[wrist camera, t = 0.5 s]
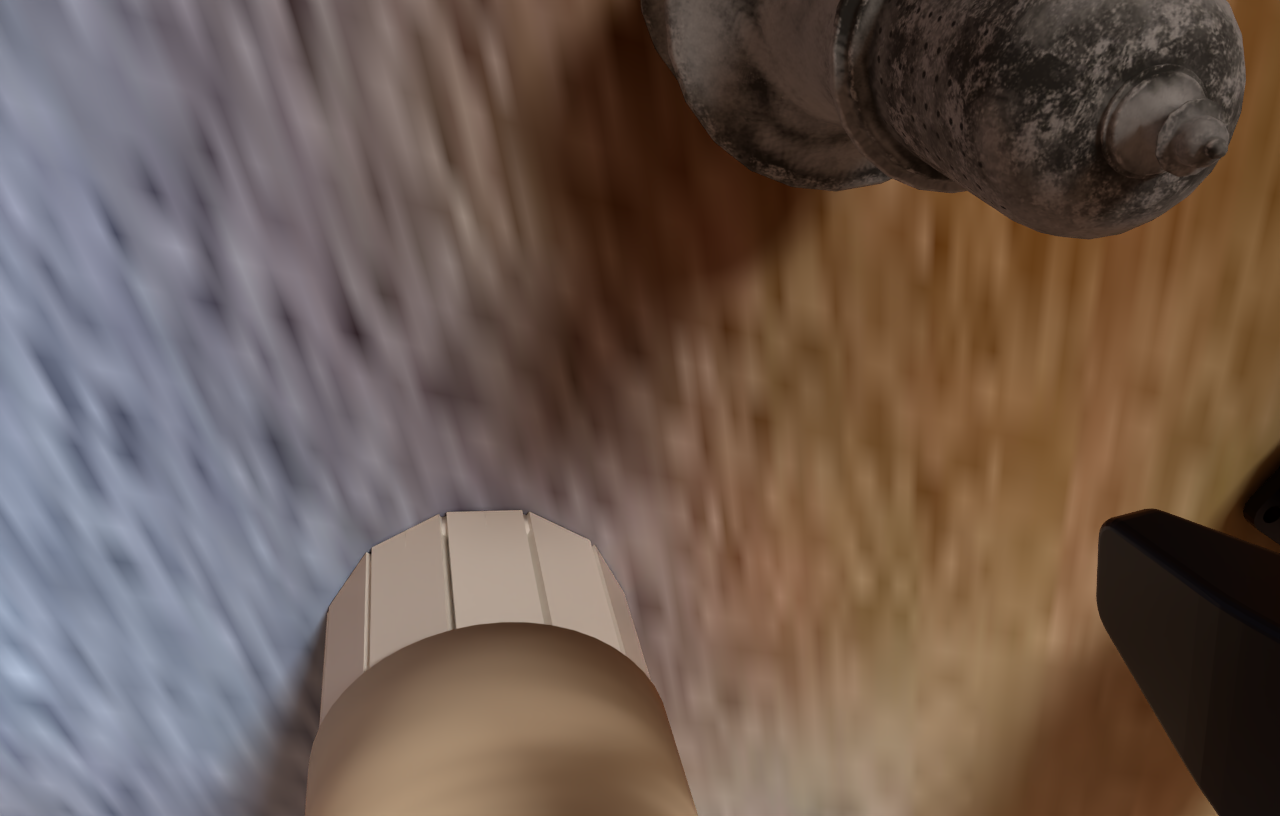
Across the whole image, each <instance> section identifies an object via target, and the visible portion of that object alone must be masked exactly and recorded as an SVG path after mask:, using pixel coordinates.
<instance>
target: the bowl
mask: <svg viewBox="0 0 1280 816" xmlns="http://www.w3.org/2000/svg"><path fill="white" fill-rule="evenodd" d="M499 622H529V623H538V624H547V625H554V626H558V627H562V628H567V629H571V630H575V631H578V632H581V633H583V634H586V635H589V636H592V637H595V638H597V639H599V640H601V641H602V642H604V643H606V644H608V645H610V646H612V647H614V648H616V649H617V650H618V651H620V652H621V653H623V654H624V655H625V656H627V657H628V658H630V659H631V660H632V661H633V662H634V663H635V664H636V665H637V666H638V667H639V668H640V669H641V670H642V671H643V672H644V673H645V674H646V675H647V677H648V678H649V679H650V676H649V673H648V670H647V666H646V663H645V660H644V656H643V653H642V650H641V647H640V643H639V640H638V637H637V633H636V630H635V627H634V624H633V620H632V617H631V614H630V610H629V607H628V604H627V601H626V597H625V594H624V592H623V590H622V589H621V587H620V586H619V584H618V582H617V581H616V579H615V577H614V576H613V574H612V572H611V571H610V569H609V567H608V566H607V564H606V562H605V561H604V559H603V557H602V556H601V554H600V552H599V551H598V549H597V548H596V546H595V545H593V546H591V542H590V540H588V539H586V538H584V537H582V536H580V535H578V534H576V533H573V532H571V531H569V530H567V529H565V528H563V527H561V526H559V525H557V524H554V523H552V522H550V521H548V520H546V519H544V518H542V517H540V516H538V515H536V514H533V513H531V512H529V513H528V514H527V515H525V514H523V512H522V510H506V511H468V512H446V516H444V517H441V516H440V515H439V514H438V515H436V516H434V517H432V518H430V519H428V520H426V521H424V522H422V523H420V524H418V525H416V526H414V527H412V528H410V529H408V530H406V531H404V532H402V533H400V534H398V535H396V536H394V537H392V538H390V539H388V540H386V541H384V542H382V543H380V544H378V545H376V546H374V547H372V553H371V554H369V553H367V552H366V553H365V555H364V556H363V558H362V559H361V561H360V562H359V564H358V565H357V567H356V568H355V569H354V571H353V572H352V574H351V575H350V577H349V578H348V580H347V581H346V583H345V584H344V586H343V587H342V588H341V590H340V591H339V593H338V594H337V596H336V597H335V599H334V600H333V602H332V603H331V605H330V606H329V612H327V625H326V639H325V653H324V667H323V681H322V695H321V709H320V723H319V727H320V725H321V723H322V721H323V720H324V718H325V716H326V715H327V713H328V711H329V710H330V708H331V707H332V705H333V704H334V703H335V702H336V700H337V699H338V698H339V697H340V696H341V694H342V693H343V692H344V691H345V690H346V689H347V688H348V687H349V686H350V685H351V684H352V683H353V682H354V681H355V680H356V679H357V678H358V677H360V676H361V675H362V674H363V673H364V672H366V671H367V670H368V669H370V668H371V667H373V666H374V665H375V664H377V663H378V662H379V661H381V660H382V659H384V658H386V657H388V656H389V655H391V654H393V653H395V652H396V651H398V650H400V649H402V648H404V647H406V646H408V645H411V644H413V643H415V642H418V641H420V640H422V639H424V638H427V637H430V636H433V635H436V634H440V633H443V632H446V631H449V630H453V629H458V628H463V627H468V626H473V625H479V624H489V623H499ZM650 681H651V679H650Z"/></svg>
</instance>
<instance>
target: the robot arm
mask: <svg viewBox="0 0 1280 816" xmlns="http://www.w3.org/2000/svg"><path fill="white" fill-rule="evenodd" d="M1243 513H1244V517H1245V519H1246V520H1247V521H1248V522H1249V523H1251V524H1252V525H1253V526H1254V527H1255V528H1257V529H1258V530H1259V531H1261V532H1262V533H1264V534H1265V535H1266V536H1268V537H1269V538H1271V539H1272V540H1274V541H1275V542H1277V543H1278V544H1279V545H1280V468H1279V469H1278V470H1277V471H1276V472H1275V473H1274V474H1273V475H1272V476H1271V477H1270V478H1269V479H1268V480H1267V481H1266V482H1265V483H1264V484H1263V485H1262V486H1261V487H1260V488H1259V489H1258V490H1257V491H1256V492H1255V493H1254V494H1253V495H1252V497H1251V498H1250V499H1249V500H1248V502H1247V503H1246V504H1245V507H1244V510H1243ZM1096 597H1097V607H1098V611H1099V615H1100V618H1101V620H1102V623H1103V625H1104V627H1105V629H1106V631H1107V633H1108V634H1109V636H1110V638H1111V639H1112V641H1113V643H1114V645H1115V646H1116V648H1117V650H1118V651H1119V653H1120V655H1121V656H1122V658H1123V660H1124V662H1125V663H1126V665H1127V667H1128V668H1129V670H1130V672H1131V674H1132V675H1133V677H1134V679H1135V680H1136V682H1137V684H1138V686H1139V687H1140V689H1141V691H1142V692H1143V694H1144V696H1145V697H1146V699H1147V701H1148V703H1149V704H1150V706H1151V708H1152V709H1153V711H1154V713H1155V715H1156V716H1157V718H1158V720H1159V721H1160V723H1161V725H1162V726H1163V728H1164V730H1165V732H1166V733H1167V735H1168V737H1169V738H1170V740H1171V742H1172V744H1173V745H1174V747H1175V749H1176V750H1177V752H1178V754H1179V755H1180V757H1181V759H1182V761H1183V762H1184V764H1185V765H1186V767H1187V769H1188V770H1189V772H1190V773H1191V775H1192V777H1193V778H1194V780H1195V781H1196V783H1197V785H1198V786H1199V788H1200V789H1201V791H1202V792H1203V794H1204V795H1205V796H1206V798H1207V799H1208V801H1209V802H1210V804H1211V805H1212V806H1213V808H1214V809H1215V811H1216V812H1217V813H1218V815H1219V816H1280V554H1279V553H1276V552H1274V551H1271V550H1268V549H1265V548H1263V547H1260V546H1257V545H1255V544H1252V543H1249V542H1246V541H1244V540H1241V539H1238V538H1235V537H1233V536H1230V535H1227V534H1224V533H1222V532H1219V531H1216V530H1213V529H1211V528H1208V527H1205V526H1202V525H1200V524H1197V523H1194V522H1192V521H1189V520H1186V519H1183V518H1181V517H1178V516H1175V515H1172V514H1170V513H1167V512H1164V511H1161V510H1157V509H1144V510H1140V511H1136V512H1132V513H1128V514H1125V515H1121V516H1117V517H1113V518H1110V519H1108V520H1107V521H1106V522H1104V524H1103V525H1102V527H1101V529H1100V532H1099V542H1098V567H1097V593H1096Z"/></svg>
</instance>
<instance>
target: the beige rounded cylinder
mask: <svg viewBox="0 0 1280 816" xmlns="http://www.w3.org/2000/svg"><path fill="white" fill-rule="evenodd" d="M305 816H698V814H697V811H696V808H695V805H694V801H693V798H692V795H691V792H690V789H689V785H688V782H687V779H686V776H685V772H684V769H683V766H682V763H681V760H680V756H679V753H678V750H677V747H676V743H675V740H674V737H673V734H672V730H671V727H670V724H669V721H668V718H667V714H666V711H665V708H664V705H663V702H662V700H661V698H660V696H659V694H658V692H657V690H656V688H655V686H654V685H653V683H652V682H651V681H650V679H649V678H648V677H647V675H646V674H645V673H644V672H643V671H642V670H641V669H640V668H639V667H638V666H637V665H636V664H635V663H634V662H633V661H632V660H631V659H630V658H628V657H627V656H625V655H624V654H623V653H621V652H620V651H618V650H617V649H616V648H614V647H612V646H610V645H608V644H606V643H604V642H602V641H601V640H599V639H597V638H595V637H592V636H589V635H586V634H583V633H581V632H578V631H575V630H571V629H567V628H562V627H558V626H554V625H547V624H538V623H529V622H499V623H489V624H479V625H473V626H468V627H463V628H458V629H453V630H449V631H446V632H443V633H440V634H436V635H433V636H430V637H427V638H424V639H422V640H420V641H418V642H415V643H413V644H411V645H408V646H406V647H404V648H402V649H400V650H398V651H396V652H395V653H393V654H391V655H389V656H388V657H386V658H384V659H382V660H381V661H379V662H378V663H377V664H375V665H374V666H373V667H371V668H370V669H368V670H367V671H366V672H364V673H363V674H362V675H361V676H360V677H358V678H357V679H356V680H355V681H354V682H353V683H352V684H351V685H350V686H349V687H348V688H347V689H346V690H345V691H344V692H343V693H342V694H341V696H340V697H339V698H338V699H337V700H336V702H335V703H334V704H333V705H332V707H331V708H330V710H329V711H328V713H327V715H326V716H325V718H324V720H323V721H322V723H321V725H320V727H319V729H318V732H317V734H316V737H315V739H314V742H313V745H312V750H311V754H310V759H309V767H308V779H307V792H306V805H305Z"/></svg>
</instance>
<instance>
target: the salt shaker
mask: <svg viewBox="0 0 1280 816" xmlns="http://www.w3.org/2000/svg"><path fill="white" fill-rule="evenodd" d="M641 10H642V14H643V16H644V19H645V22H646V25H647V27H648V30H649V33H650V36H651V38H652V41H653V44H654V47H655V49H656V50H657V52H658V53H659V55H660V56H661V58H662V59H663V60H664V62H665V63H666V65H667V66H668V68H669V69H670V70H671V72H672V73H673V75H674V76H675V77H676V79H677V80H678V82H679V84H680V87H681V90H682V93H683V96H684V98H685V101H686V103H687V104H688V106H689V107H690V108H691V110H692V111H693V113H694V114H695V115H696V117H697V118H698V120H699V121H700V123H701V124H702V125H703V127H704V128H705V130H706V131H707V132H708V134H709V135H710V137H711V138H712V139H713V141H714V142H715V143H717V144H718V145H719V146H720V147H722V148H723V149H724V150H725V151H727V152H728V153H729V154H730V155H732V156H733V157H734V158H736V159H737V160H738V161H739V162H741V163H742V164H743V165H744V166H746V167H747V168H748V169H749V170H751V171H753V172H756V173H758V174H761V175H763V176H766V177H768V178H771V179H773V180H776V181H778V182H781V183H783V184H786V185H788V186H791V187H798V188H808V189H818V190H828V191H841V190H846V189H852V188H858V187H864V186H870V185H875V184H881V183H883V182H886V181H888V180H890V179H892V178H893V179H895V180H897V181H900V182H902V183H904V184H907V185H909V186H911V187H914V188H916V189H919V190H928V191H937V192H946V193H956V192H962V191H969V192H970V193H972V194H973V195H975V196H976V197H978V198H979V199H981V200H983V201H984V202H986V203H987V204H989V205H990V206H992V207H993V208H995V209H996V210H998V211H999V212H1001V213H1002V214H1004V215H1005V216H1007V217H1008V218H1010V219H1011V220H1013V221H1015V222H1017V223H1020V224H1022V225H1024V226H1027V227H1029V228H1031V229H1034V230H1036V231H1038V232H1041V233H1045V234H1050V235H1055V236H1061V237H1071V238H1081V239H1093V238H1099V237H1105V236H1111V235H1117V234H1121V233H1124V232H1126V231H1128V230H1131V229H1133V228H1135V227H1138V226H1140V225H1142V224H1145V223H1147V222H1149V221H1152V220H1154V219H1155V218H1157V217H1159V216H1160V215H1162V214H1163V213H1165V212H1166V211H1168V210H1169V209H1171V208H1172V207H1173V206H1175V205H1176V204H1178V203H1179V202H1180V201H1182V200H1183V199H1185V198H1186V197H1187V196H1189V195H1190V194H1191V193H1192V192H1193V191H1194V190H1195V189H1196V187H1197V186H1198V185H1199V184H1200V183H1201V182H1202V181H1203V180H1204V179H1205V178H1206V177H1207V176H1208V175H1209V174H1210V173H1211V172H1212V170H1213V168H1214V167H1215V165H1216V164H1217V162H1218V160H1219V159H1221V157H1223V156H1224V155H1225V154H1226V152H1227V151H1228V145H1229V143H1230V140H1231V138H1232V135H1233V132H1234V130H1235V127H1236V124H1237V122H1238V119H1239V116H1240V114H1241V109H1242V102H1243V95H1244V89H1245V82H1246V78H1245V62H1244V52H1243V42H1242V34H1241V32H1240V29H1239V27H1238V24H1237V22H1236V19H1235V17H1234V14H1233V12H1232V9H1231V7H1230V4H1229V3H1228V2H1227V1H1226V0H641Z"/></svg>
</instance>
